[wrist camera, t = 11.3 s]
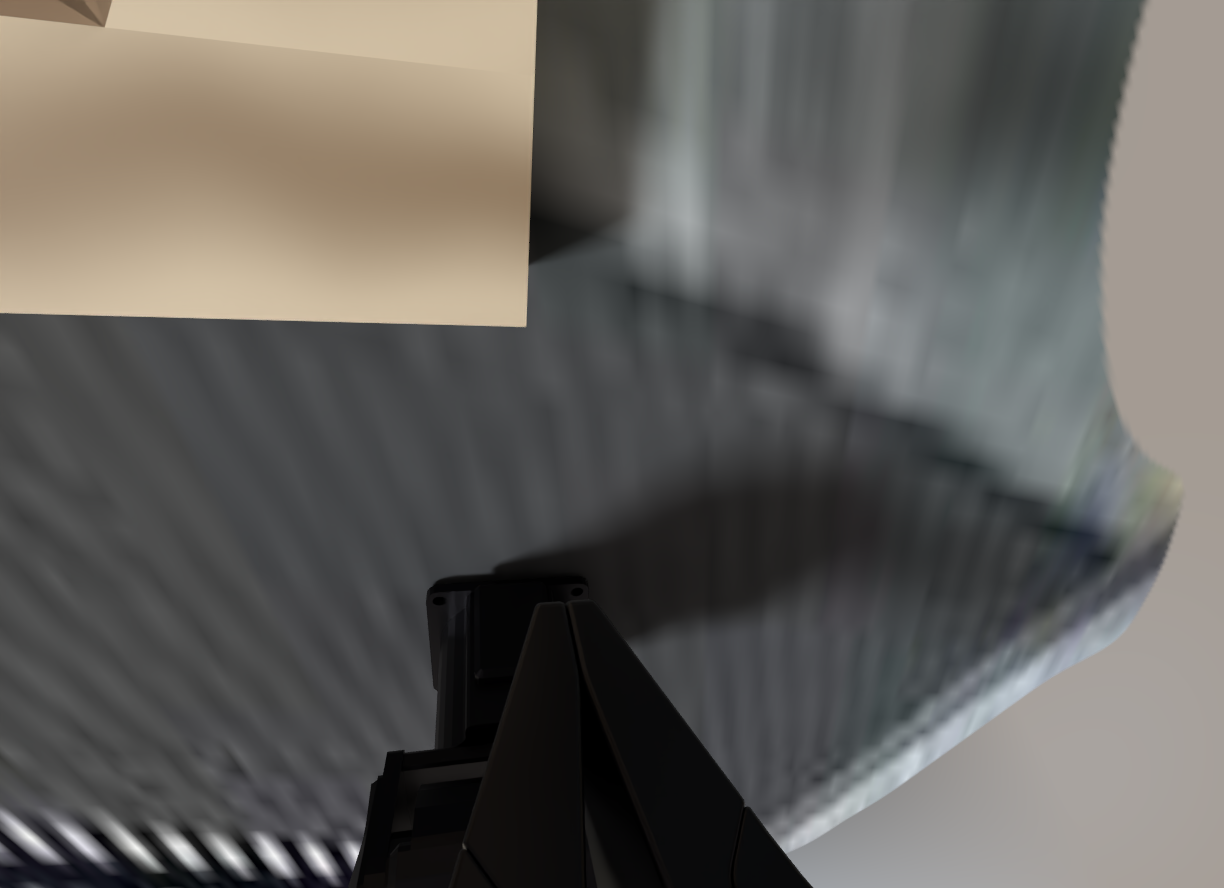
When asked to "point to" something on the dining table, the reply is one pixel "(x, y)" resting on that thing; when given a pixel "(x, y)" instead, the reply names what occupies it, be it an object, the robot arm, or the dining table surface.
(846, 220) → the dining table surface
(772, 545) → the dining table surface
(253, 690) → the dining table surface
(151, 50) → the jig
